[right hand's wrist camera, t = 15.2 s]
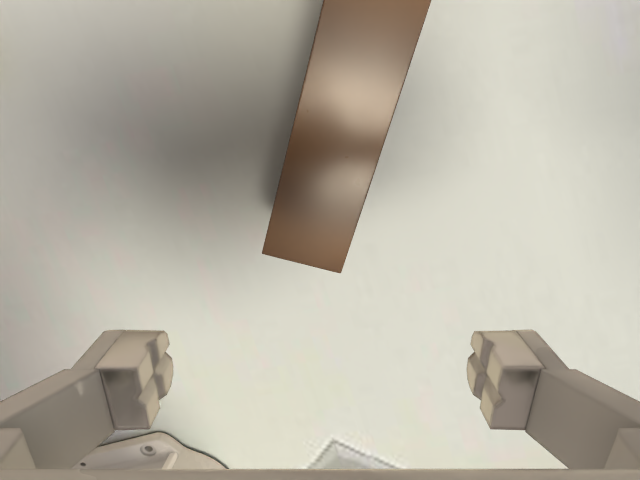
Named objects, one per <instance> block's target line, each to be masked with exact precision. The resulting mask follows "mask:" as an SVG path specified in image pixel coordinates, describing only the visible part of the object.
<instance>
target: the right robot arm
mask: <svg viewBox="0 0 640 480" xmlns="http://www.w3.org/2000/svg"><path fill="white" fill-rule="evenodd" d="M168 346H169V339H168V334H167V333H166V332H165V331H156V330H107V331H104V332H103V333H102V334H101V335H100V336H99V338H98V339H97V340H96V341H95V342H94V343H93V344H92V346H91V347H90V348H89V349H88V350H87V351H86V352H85V354H84V355H83V356H82V357H81V358H80V359H79V360H78V362H77V363H76V364H75V365H74V366H73V367H72V368H71V369H64V370H62V371H60V372H58V373H56V374H54V375H52V376H50V377H48V378H46V379H44V380H42V381H40V382H38V383H36V384H34V385H32V386H30V387H28V388H26V389H24V390H22V391H20V392H18V393H17V394H15V395H13V396H11V397H9V398H7V399H5V400H3V401H1V402H0V480H640V402H639V401H637V400H635V399H633V398H631V397H629V396H627V395H625V394H623V393H621V392H619V391H617V390H615V389H613V388H611V387H609V386H608V385H606V384H604V383H602V382H600V381H598V380H596V379H594V378H592V377H590V376H588V375H586V374H584V373H582V372H580V371H578V370H576V369H569V368H568V367H567V366H566V365H565V364H564V363H563V362H562V360H561V359H560V358H559V357H558V356H557V355H556V354H555V352H554V351H553V350H552V349H551V348H550V347H549V346H548V344H547V343H546V342H545V341H544V340H543V339H542V338H541V336H540V335H539V334H538V333H537V332H536V331H534V330H512V331H474V333H473V335H472V338H471V346H472V348H473V350H474V353H473V354H472V355H471V356H470V357H469V358H468V362H467V379H468V383H469V386H470V389H471V391H472V393H473V395H474V396H476V397H477V398H479V399H480V400H481V404H480V409H481V411H482V413H483V415H484V417H485V419H486V421H487V423H488V425H489V427H490V429H505V430H526V431H525V432H526V433H527V434H529V435H530V436H531V437H532V438H533V439H535V440H536V441H537V442H538V443H539V444H540V445H542V446H543V447H544V448H545V449H546V450H548V451H549V452H550V453H551V454H552V455H554V456H555V457H556V458H557V459H558V460H559V461H561V462H562V463H563V464H564V465H565V466H567V467H568V468H569V469H226V468H225V467H224V466H223V465H221V464H220V463H219V462H217V461H216V460H214V459H212V458H210V457H208V456H206V455H204V454H202V453H199V452H196V451H193V450H191V449H188V448H186V447H184V446H183V445H181V444H180V443H179V442H178V441H176V440H175V439H174V438H172V437H171V436H169V435H167V434H165V433H161V432H157V433H152V434H148V435H144V436H140V437H136V438H132V439H128V440H124V441H120V442H116V443H112V444H108V445H104V446H100V447H97V446H98V445H100V444H101V443H102V442H103V441H104V440H106V439H107V438H108V437H109V436H110V435H112V434H113V433H114V432H115V431H114V430H135V429H150V428H151V426H152V424H153V422H154V419H155V417H156V415H157V413H158V411H159V409H160V404H159V400H160V399H161V398H163V397H164V396H166V395H167V393H168V391H169V389H170V387H171V383H172V378H173V362H172V358H171V357H170V356H169V355H168V354H167V353H166V350H167V348H168Z"/></svg>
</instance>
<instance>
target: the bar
mask: <svg viewBox="0 0 640 480" xmlns="http://www.w3.org/2000/svg"><path fill="white" fill-rule="evenodd" d="M430 3H431V0H324V1H323V5H322V9H321V13H320V17H319V21H318V26H317V30H316V34H315V38H314V42H313V46H312V50H311V54H310V58H309V62H308V66H307V71H306V75H305V79H304V83H303V87H302V91H301V95H300V99H299V103H298V107H297V111H296V116H295V120H294V124H293V128H292V132H291V136H290V140H289V144H288V148H287V152H286V156H285V161H284V165H283V169H282V173H281V177H280V181H279V185H278V189H277V193H276V197H275V201H274V205H273V210H272V214H271V218H270V222H269V226H268V230H267V234H266V238H265V242H264V246H263V250H262V254H265V255H269V256H273V257H277V258H281V259H285V260H289V261H293V262H297V263H301V264H305V265H309V266H313V267H317V268H321V269H325V270H329V271H333V272H337V273H341V271H342V268H343V265H344V262H345V259H346V256H347V253H348V250H349V247H350V244H351V241H352V238H353V235H354V232H355V229H356V226H357V223H358V220H359V217H360V214H361V211H362V208H363V205H364V202H365V199H366V196H367V193H368V190H369V187H370V184H371V181H372V178H373V175H374V172H375V169H376V166H377V163H378V160H379V156H380V153H381V150H382V147H383V144H384V141H385V138H386V135H387V132H388V129H389V126H390V123H391V120H392V117H393V114H394V111H395V108H396V105H397V102H398V99H399V96H400V93H401V90H402V87H403V84H404V81H405V78H406V75H407V72H408V69H409V66H410V63H411V60H412V57H413V54H414V51H415V48H416V45H417V42H418V39H419V36H420V33H421V30H422V27H423V24H424V21H425V18H426V15H427V12H428V9H429V6H430Z"/></svg>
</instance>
